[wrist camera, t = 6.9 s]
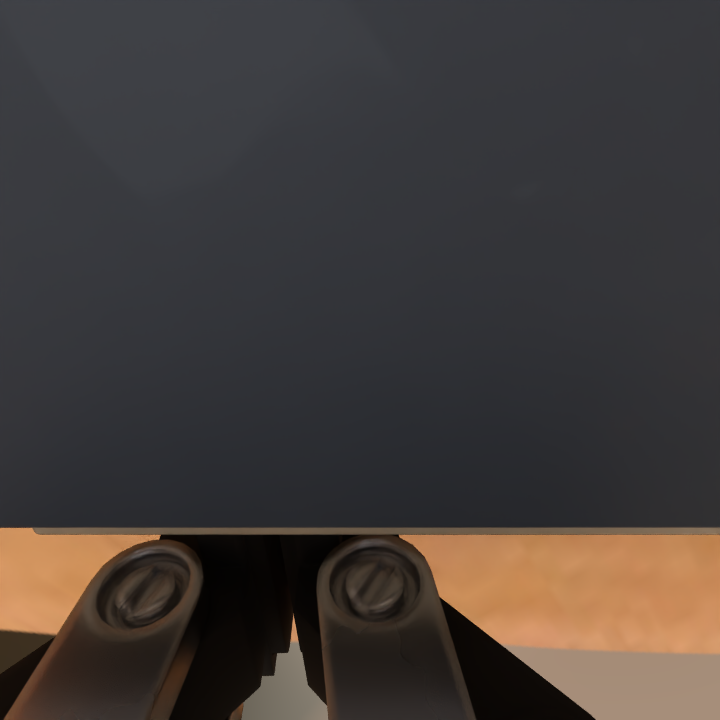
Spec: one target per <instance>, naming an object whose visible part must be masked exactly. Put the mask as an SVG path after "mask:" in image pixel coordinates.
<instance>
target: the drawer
mask: <svg viewBox="0 0 720 720" xmlns="http://www.w3.org/2000/svg"><path fill="white" fill-rule="evenodd" d="M33 530H34V532H35V533H37V534H40V535H720V528H33Z"/></svg>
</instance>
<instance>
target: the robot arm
mask: <svg viewBox="0 0 720 720" xmlns="http://www.w3.org/2000/svg"><path fill="white" fill-rule="evenodd" d="M293 613H294V618H295V624H296V629H297V635H298V640H299V646H300V650H301V652H302V654H303V660H304V665H305V670H306V676H307V682H308V685H309V687H310V688H311V689H312V690H313V691H314V692H315V693H316V694H317V695H318V696H319V698H320V699H321V700H322V701H323V702H324V703H325V704H326V705H327V708H328V719H329V720H595V719H594V718H593V717H592V716H591V715H590V714H589V713H588V712H586V711H585V710H584V709H582V708H581V707H580V706H579V705H577V704H576V703H575V702H574V701H572V700H571V699H570V698H568V697H567V696H566V695H565V694H563V693H562V692H561V691H559V690H558V689H557V688H556V687H554V686H553V685H552V684H550V683H549V682H548V681H546V680H545V679H544V678H543V677H542V676H540V675H539V674H538V673H536V672H535V671H534V670H533V669H531V668H530V667H529V666H527V665H526V664H525V663H524V662H522V661H521V660H520V659H518V658H517V657H516V656H515V655H513V654H512V653H511V652H509V651H508V650H507V649H506V648H504V647H503V646H502V645H500V644H499V643H498V642H497V641H495V640H494V639H493V638H492V637H490V636H489V635H488V634H486V633H485V632H484V631H483V630H481V629H480V628H479V627H477V626H476V625H475V624H474V623H472V622H471V621H470V620H468V619H467V618H466V617H465V616H463V615H462V614H461V613H459V612H458V611H457V610H456V609H454V608H453V607H452V606H450V605H449V604H448V603H447V602H445V601H444V600H443V599H442V598H440V597H439V595H438V591H437V588H436V585H435V581H434V578H433V575H432V571H431V569H430V567H429V565H428V563H427V561H426V559H425V557H424V556H423V555H422V554H421V553H420V552H419V551H418V550H417V549H416V548H415V547H414V546H413V545H412V544H410V543H408V542H407V541H405V540H403V539H401V538H399V535H161V536H160V539H159V540H151V541H148V542H144V543H141V544H137V545H134V546H132V547H130V548H128V549H126V550H124V551H122V552H121V553H119V554H117V555H116V556H115V557H113V558H112V559H111V560H110V561H108V562H107V563H106V564H105V565H103V566H102V568H101V569H100V570H99V571H98V573H97V574H96V575H95V576H94V578H93V579H92V580H91V581H90V583H89V585H88V586H87V588H86V589H85V591H84V593H83V594H82V596H81V597H80V599H79V600H78V602H77V604H76V605H75V607H74V608H73V610H72V612H71V613H70V615H69V616H68V618H67V620H66V621H65V623H64V624H63V626H62V628H61V629H60V631H59V632H58V634H57V635H56V636H55V637H54V638H53V639H51V640H50V641H48V642H47V643H45V644H44V645H42V646H41V647H39V648H38V649H36V650H35V651H34V652H32V653H31V654H29V655H28V656H26V657H25V658H23V659H22V660H20V661H19V662H17V663H16V664H15V665H13V666H11V667H10V668H9V669H7V670H6V671H4V672H3V673H1V674H0V720H241V718H242V711H243V702H244V701H245V700H246V699H247V698H249V697H250V696H251V695H252V694H253V693H254V692H255V691H256V690H257V689H258V688H259V687H260V685H261V678H262V676H274V673H275V665H276V657H277V653H288V651H289V647H290V640H291V631H292V621H293Z"/></svg>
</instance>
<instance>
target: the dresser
mask: <svg viewBox="0 0 720 720" xmlns="http://www.w3.org/2000/svg"><path fill="white" fill-rule="evenodd" d="M0 528H720V0H0Z"/></svg>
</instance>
